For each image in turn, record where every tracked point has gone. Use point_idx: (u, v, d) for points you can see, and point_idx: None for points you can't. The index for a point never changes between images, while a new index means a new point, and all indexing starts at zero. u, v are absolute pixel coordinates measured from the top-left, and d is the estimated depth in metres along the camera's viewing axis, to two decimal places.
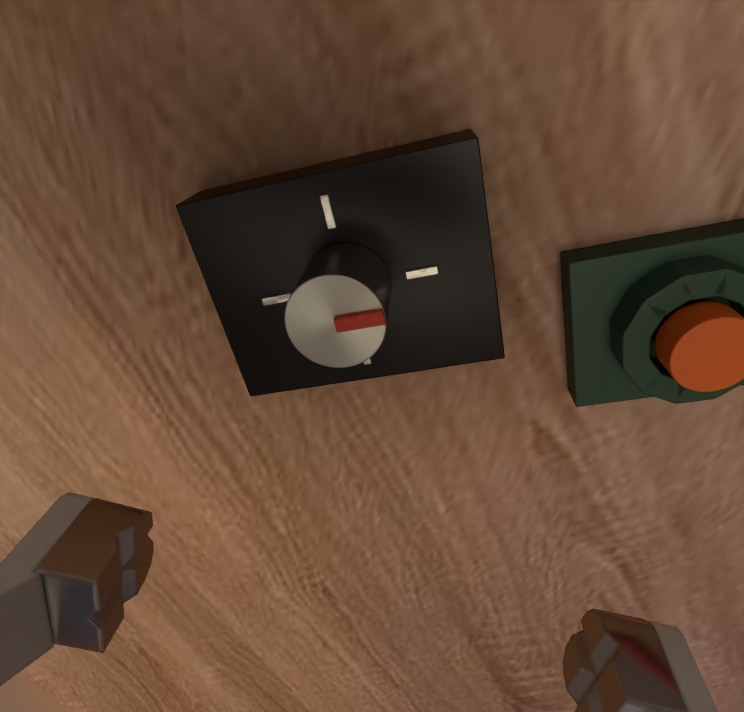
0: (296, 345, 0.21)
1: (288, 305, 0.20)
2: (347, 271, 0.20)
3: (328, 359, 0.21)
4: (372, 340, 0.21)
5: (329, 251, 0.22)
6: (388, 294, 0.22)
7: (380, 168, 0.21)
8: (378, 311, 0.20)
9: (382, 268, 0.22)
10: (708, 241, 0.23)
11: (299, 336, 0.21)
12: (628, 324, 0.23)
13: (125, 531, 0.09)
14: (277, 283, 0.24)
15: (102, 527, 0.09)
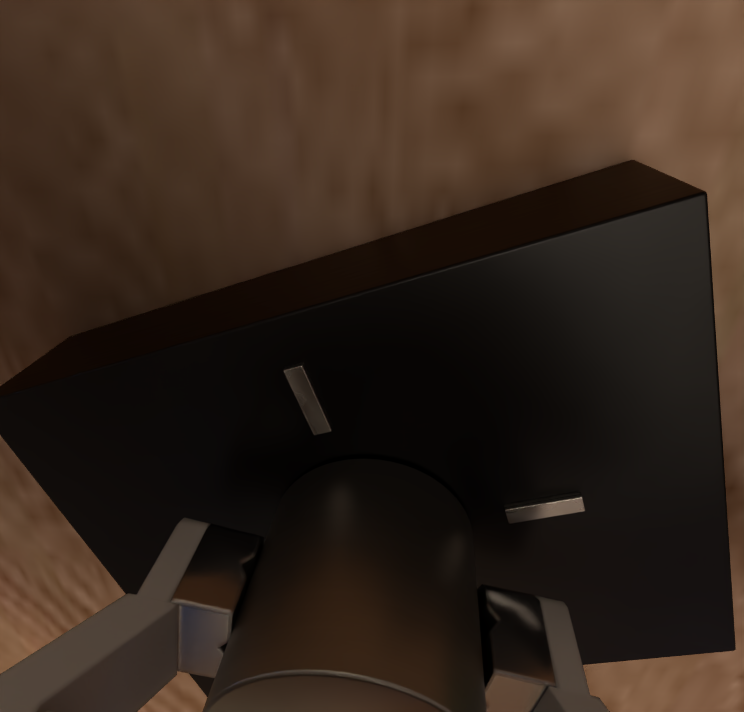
0: None
1: None
2: (362, 637, 0.07)
3: None
4: None
5: (318, 499, 0.09)
6: (476, 610, 0.08)
7: (429, 294, 0.08)
8: None
9: (452, 523, 0.09)
10: None
11: None
12: None
13: (248, 559, 0.09)
14: None
15: (225, 555, 0.09)
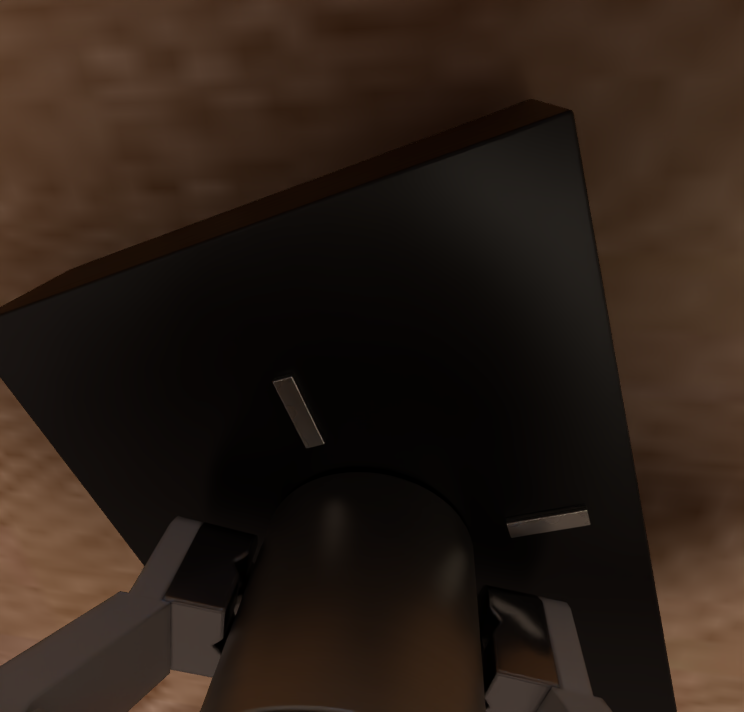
0: None
1: None
2: (377, 673, 0.06)
3: None
4: None
5: (327, 512, 0.09)
6: (480, 644, 0.08)
7: (638, 600, 0.10)
8: None
9: (460, 550, 0.09)
10: None
11: None
12: None
13: (241, 557, 0.09)
14: (346, 410, 0.09)
15: (218, 553, 0.09)
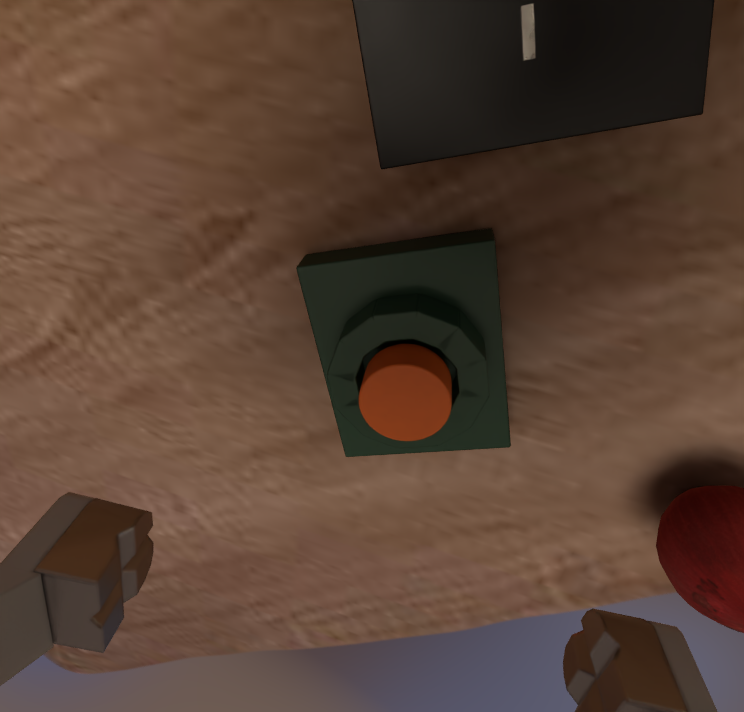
0: None
1: None
2: None
3: None
4: None
5: None
6: None
7: None
8: None
9: None
10: (501, 372, 0.23)
11: None
12: (430, 314, 0.20)
13: (125, 531, 0.09)
14: None
15: (102, 527, 0.09)
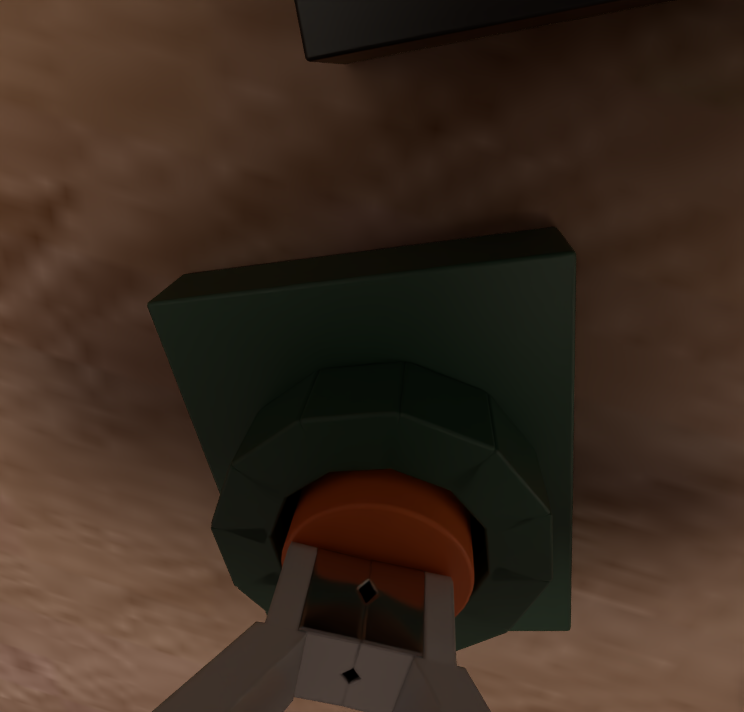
0: None
1: None
2: None
3: None
4: None
5: None
6: None
7: None
8: None
9: None
10: (565, 510, 0.12)
11: None
12: (430, 421, 0.09)
13: (364, 584, 0.09)
14: None
15: (341, 580, 0.09)
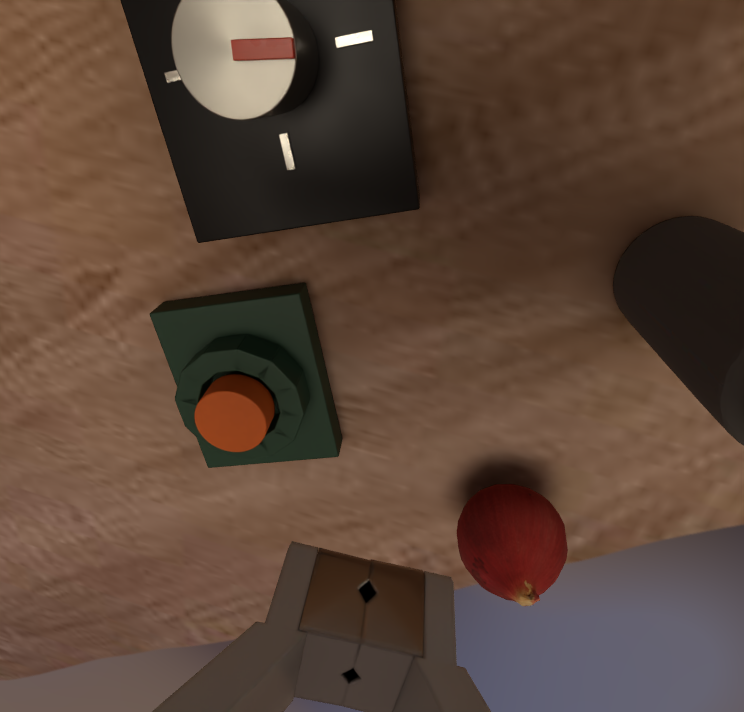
0: (182, 76, 0.17)
1: (177, 12, 0.16)
2: None
3: (219, 104, 0.17)
4: (276, 84, 0.17)
5: None
6: (308, 51, 0.18)
7: (397, 108, 0.20)
8: (287, 38, 0.16)
9: (308, 29, 0.19)
10: (321, 395, 0.28)
11: (187, 62, 0.17)
12: (248, 352, 0.25)
13: (364, 584, 0.09)
14: None
15: (341, 580, 0.09)
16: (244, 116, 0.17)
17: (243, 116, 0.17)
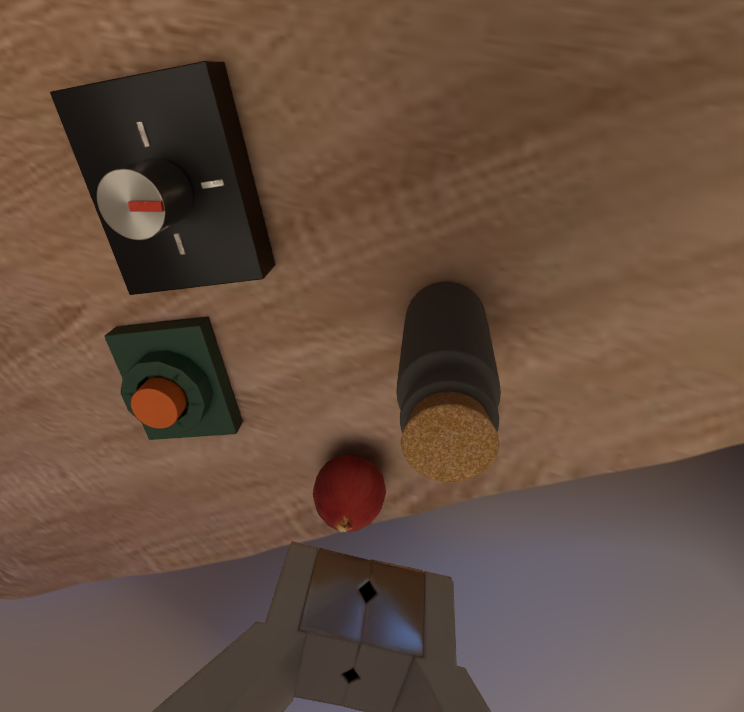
0: (104, 216, 0.30)
1: (99, 186, 0.29)
2: (142, 170, 0.29)
3: (125, 231, 0.31)
4: (155, 222, 0.30)
5: (145, 160, 0.31)
6: (179, 197, 0.31)
7: (243, 221, 0.34)
8: (158, 201, 0.29)
9: (182, 181, 0.32)
10: (220, 392, 0.42)
11: (106, 210, 0.30)
12: (165, 363, 0.39)
13: (364, 584, 0.09)
14: (156, 136, 0.32)
15: (341, 580, 0.09)
16: (139, 238, 0.31)
17: (139, 238, 0.31)
